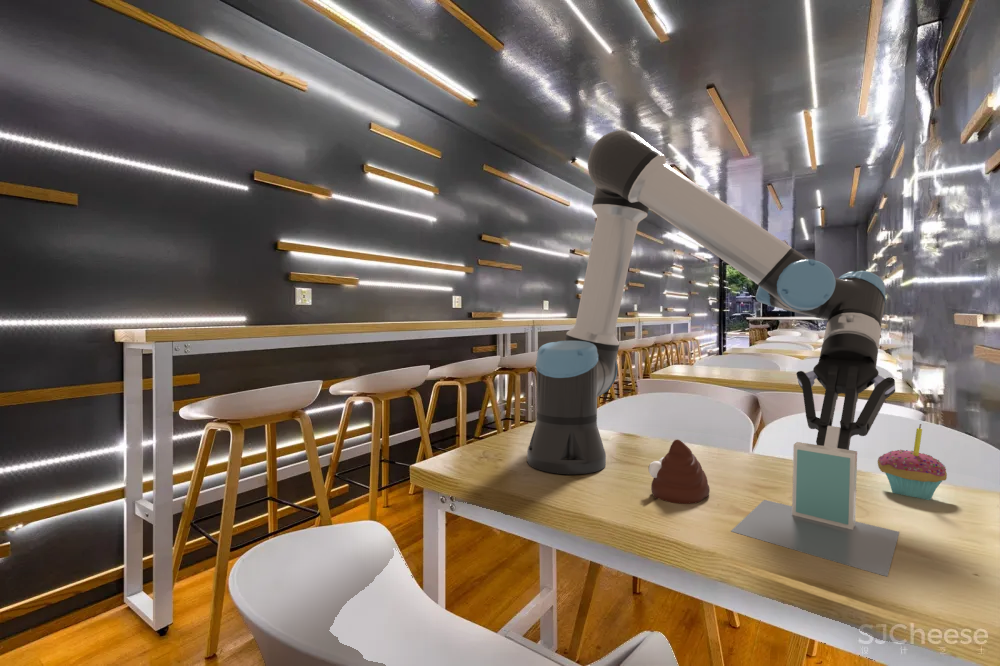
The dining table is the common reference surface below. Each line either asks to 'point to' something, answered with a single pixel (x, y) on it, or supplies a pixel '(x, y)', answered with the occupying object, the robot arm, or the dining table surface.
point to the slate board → (822, 537)
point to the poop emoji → (679, 476)
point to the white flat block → (824, 484)
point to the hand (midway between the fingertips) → (828, 469)
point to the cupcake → (912, 471)
